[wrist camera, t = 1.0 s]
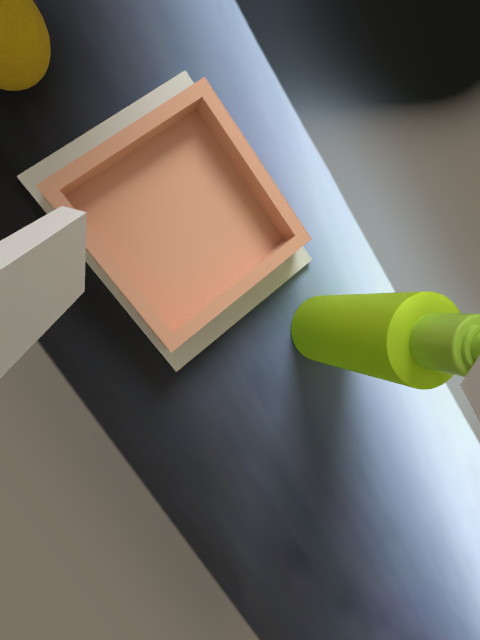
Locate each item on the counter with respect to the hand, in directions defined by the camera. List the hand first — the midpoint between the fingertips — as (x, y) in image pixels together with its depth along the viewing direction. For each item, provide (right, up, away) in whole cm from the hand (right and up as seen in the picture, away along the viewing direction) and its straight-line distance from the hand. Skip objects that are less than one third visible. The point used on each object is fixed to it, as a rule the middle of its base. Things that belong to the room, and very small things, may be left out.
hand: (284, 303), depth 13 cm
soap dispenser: (+6, -2, +24) cm, 25 cm away
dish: (-6, +7, +19) cm, 22 cm away
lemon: (-17, +17, +16) cm, 29 cm away
